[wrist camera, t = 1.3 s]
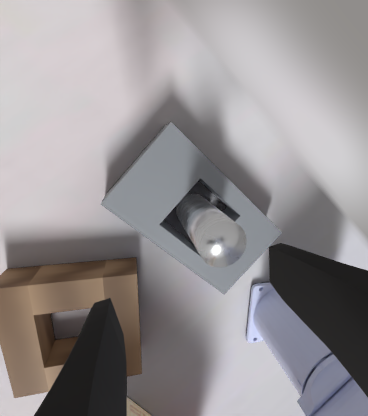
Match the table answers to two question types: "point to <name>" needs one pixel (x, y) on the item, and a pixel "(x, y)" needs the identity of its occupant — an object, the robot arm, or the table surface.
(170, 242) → the bored beam
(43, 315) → the walnut seat block
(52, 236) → the table surface
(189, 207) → the metal axle
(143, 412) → the coffeecake box
